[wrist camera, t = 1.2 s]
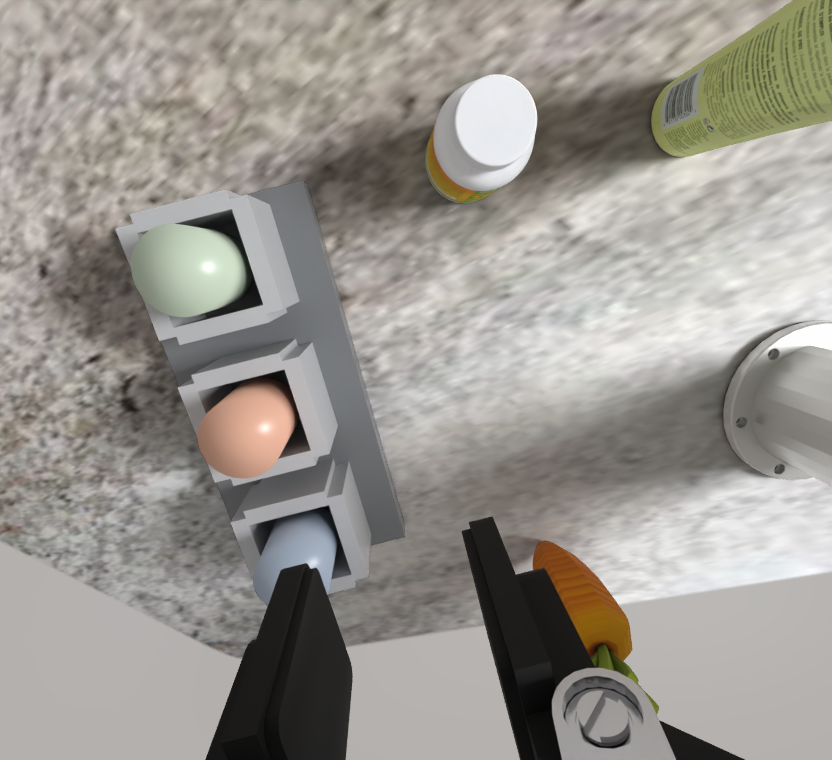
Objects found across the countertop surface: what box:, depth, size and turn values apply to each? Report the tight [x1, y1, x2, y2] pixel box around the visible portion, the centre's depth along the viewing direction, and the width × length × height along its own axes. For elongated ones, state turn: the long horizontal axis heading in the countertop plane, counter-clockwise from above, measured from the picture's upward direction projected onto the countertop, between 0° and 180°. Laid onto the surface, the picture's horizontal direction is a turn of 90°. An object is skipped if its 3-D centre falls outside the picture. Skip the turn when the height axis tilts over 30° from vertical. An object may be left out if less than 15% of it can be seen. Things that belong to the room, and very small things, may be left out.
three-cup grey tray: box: [115, 180, 405, 604], centre depth 32 cm, size 12×26×7 cm, turn 14°
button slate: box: [253, 507, 339, 606], centre depth 30 cm, size 4×4×5 cm
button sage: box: [131, 224, 253, 317], centre depth 25 cm, size 4×4×5 cm
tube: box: [651, 0, 832, 157], centre depth 23 cm, size 6×5×20 cm
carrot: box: [533, 541, 659, 715], centre depth 32 cm, size 5×5×15 cm
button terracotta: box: [198, 377, 299, 478], centre depth 28 cm, size 4×4×5 cm
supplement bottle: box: [425, 74, 537, 203], centre depth 27 cm, size 5×5×10 cm
